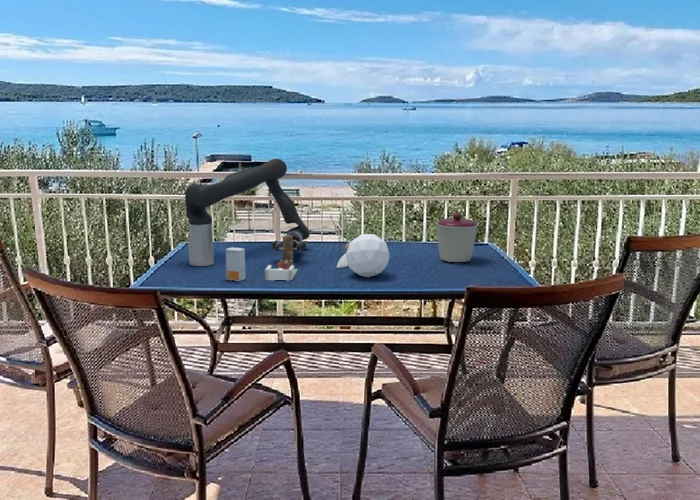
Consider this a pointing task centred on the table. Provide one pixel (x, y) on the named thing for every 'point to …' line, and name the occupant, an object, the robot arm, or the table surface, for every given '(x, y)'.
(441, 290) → the table surface
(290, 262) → the guides
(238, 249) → the skincare box
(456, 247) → the canister
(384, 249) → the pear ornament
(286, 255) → the brown thin block
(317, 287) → the table surface
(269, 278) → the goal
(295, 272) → the pale green square plate
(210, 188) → the robot arm
